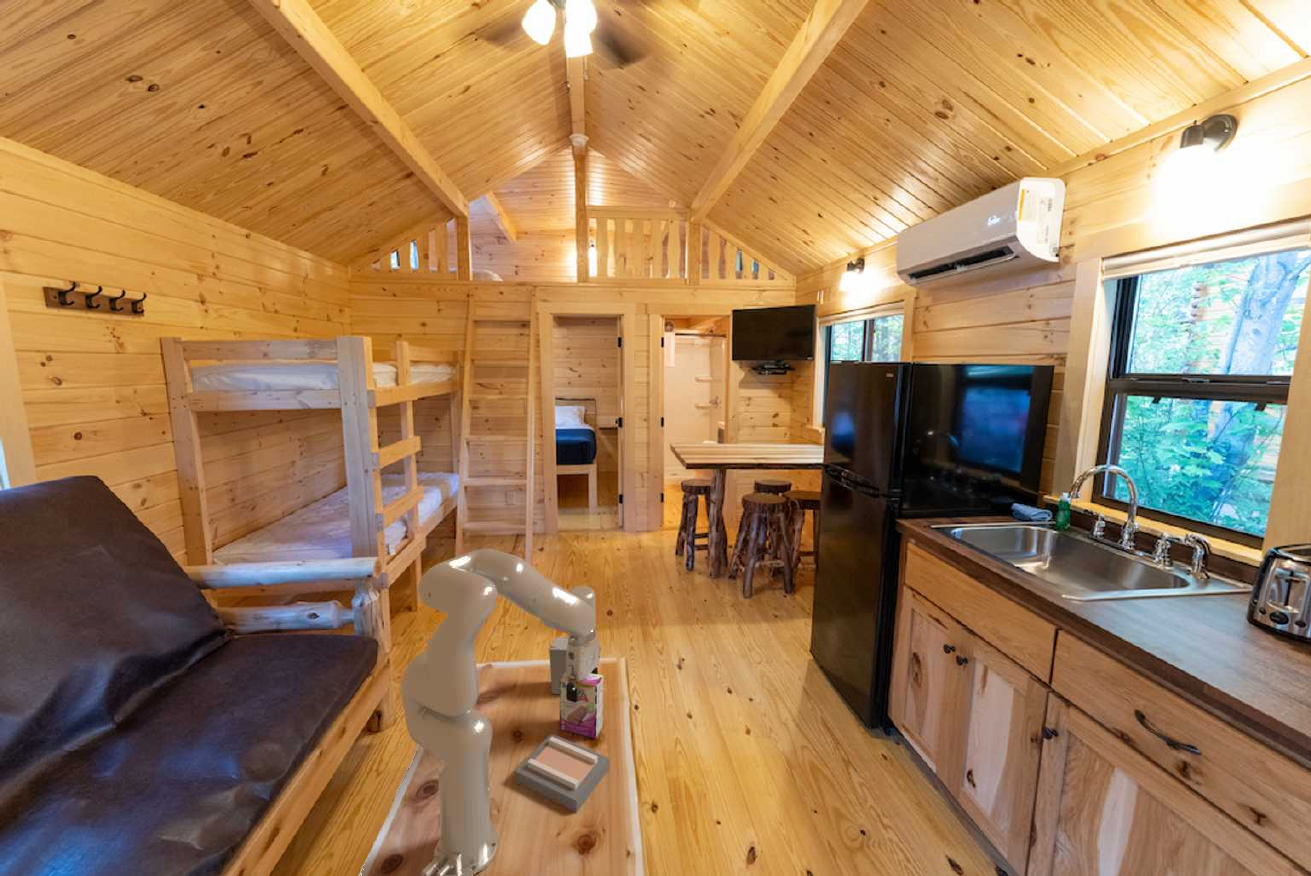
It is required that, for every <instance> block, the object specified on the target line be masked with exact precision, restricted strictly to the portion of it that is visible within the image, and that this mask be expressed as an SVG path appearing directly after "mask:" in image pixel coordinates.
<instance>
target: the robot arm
mask: <svg viewBox="0 0 1311 876" xmlns="http://www.w3.org/2000/svg"><path fill="white" fill-rule="evenodd" d="M417 594H418V597H419V599H420V600H421V602H422V603H423V604H424V605H426V606H427V607H430V608H432V609H435V610H437V611H440V612H442V613H445V614H447V616H446V617H445V618H444V619H443V621H442V622H441V623H440V624H439V626H438V627H437V628H436V629H435V631H433V633H432V634H431V636H430V638H429V640H428V642H427V645H426V651H424V652H421V653H418V655H416V656H415V657H414V658H412V659H411V661H410V662H409V663H408V664H407V666H406V668H405V670H404V673H403V675H402V679H401V683H400V693H401V694H400V695H401V701H402V706H403V712H404V716H405V723H406V727H407V732H408V735H409V736H410V738H411V740H412V741H413V742H414V743H415V744H417V745H419V746H420V747H422V748H423V749H425V750H427V751H429V752H431V753H432V754H433V755H435V756H437V757H439V758H440V759H441V760H443V763H444V764H445V766H444V767H443V768H442V770H441V772H440V774H439V778H438V799H439V802H438V803H439V805H438V806H439V820H440V823H439V825H440V838H439V840H438V841H437V843H436V846H435V848H434V851H433V859H432V860H431V861H430V862H429V863H427V865H426V866H425V867H424V868H423V869H422V870H421V872H420V876H433V875H434V874H435V876H471V875H473V874H476V873H477V872H479V871H481V870H482V871H483V870H485V868H487V867H488V866H489V865H490V863H491V862H492V861H493V859H494V857H495V855H496V854H497V851H498V848H499V833H498V831H497V828H496V827H495V825H493V823H491V819H490V818H491V817H490V816H491V815H490V814H491V813H490V810H491V809H490V783H489V781H490V776H489V774H490V773H489V759H490V751H491V746H492V741H493V733H494V731H493V726H492V723H491V721H490V719H488V717H487V716H486V715H485V714H484V713H482V712H481V711H479V710H476V709H475V706H476V704H477V702H478V701H479V694H480V693H479V692H480V684H479V682H480V681H479V676H478V674H479V673H478V667H477V661H476V650H475V642H476V638H477V637H478V634H479V632H480V630H481V629H482V627H483V626H484V624H485V622H486V621H487V619H489V616H490V615H491V614H492V612H493V611H494V609H495V607H496V604H497V600H498V595H500V596H502V598H504V599H505V600H507V601H508V602H510V603H512V604H514V605H515V606H516V607H517V608H519V609H521V610H522V611H523V612H525V613H527V614H530V615H532V616H533V617H536V618H539V620H540V622H541V624H542V625H543V626H544V627H547V628H549V629H552V630H556V631H557V632H560V633H564V634H567V638H568V644H567V652H566V672H565V674H564V676H563V677H562V679H561V683H562V684H563V687H565V688H566V699H567V700H569V701H572V702H574V703H576V702H577V688H576V686H577V683H578V681H582V680H584V679H585V678H586V677H587V676H588V675H589V674H590V673H594V674H598V672H599V671H598V667H599V664H600V658H601V651H602V646H600V643H599V636H598V633H597V624H596V623H597V621H596V618H597V610H596V608H597V604H596V602H597V601H596V592H595V590H594V588H591V587H590V586H586V585H580V586H579V585H578V586H575V587H572V588H571V589H570V590H567V589H565V588H563V587H562V586H560V585H559V584H556V583H555V582H553V581H551V580H550V579H548V578H546V577H545V576H544V575H542V573H540V572H539V571H538V570H536V569H535V568H534V567H533V566H532V565H530V564H529V563H528V562H527V561H526V560H524V559H523V558H521V557H519V556H517V555H515V554H512V553H508V552H504V551H500V550H497V549H493V548H481V549H480V548H479V549H475V550H472V551H470V552H466V553H464V554H461V555H458V556H455V557H453V558H450V559H447V560H445V561H442V562H438V563H437V564H435V565H433V566H431V567H430V568H429V569H427V570H426V571H425V572H424V573H423V575H422V576H421V578H420V580H419V583H418V586H417ZM573 673H574V676H575V677H574V676H572V674H573ZM571 678H572V679H575V680H574V683H573V685H572V684H570V681H571ZM486 866H487V867H486ZM436 870H437V871H438V872H437V871H436ZM482 871H481V872H482ZM435 872H436V873H435ZM479 873H480V872H479ZM476 875H477V874H476Z"/></svg>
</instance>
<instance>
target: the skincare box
mask: <svg viewBox="0 0 1311 876" xmlns="http://www.w3.org/2000/svg"><path fill="white" fill-rule="evenodd" d="M567 644H568V637H558V636H557V637H555V638H554V639H553V641H552V643H551V645H550V647H549V648H548V651H549V665H550V666H549V667H550V684H551V686H550V687H551V694H552V695H553V694H554V695H560V676H561V675H562V674H563V672H564V671H565V670H566V652H567Z"/></svg>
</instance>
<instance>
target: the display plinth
mask: <svg viewBox="0 0 1311 876" xmlns="http://www.w3.org/2000/svg"><path fill="white" fill-rule="evenodd" d="M609 769H610V758H609V757H607V756H605V755H603V754H600V753H598V752H596V751H593V750H591V749H589V748H586V747H584V746H582V745H580V744H577V743H575V742H572V741H570V740H568V739H566V738H563V737H561V736H559V735H557V734H554V733H553V732H552V733H550V734H549V735H548V736H547V737H546V738H545V739H544V741H542V742H541V744H539V746H538V747H537V748H536V749H534V751H532V753H531V754H530V755H528V757H527V758H525V760H524V761H523V762H522V763H521V764H520V765H519V766H518V767H517V768H516V769H515V771H514V779H515V780H514V782H515V783H517V784H519V785H521V786H523V787H525V788H527V789H528V790H530V791H532V792H534V793H537V794H539V795H541V796H543V797H545V798H547V799H549V800H550V801H553V802H554V803H556V804H558V805H561V806H563V807H564V808H567V809H568V810H571V811H572V812H575V813H578V812H579V810H580V809H581V808H582V806H583V805H584V803H585V802H586V801H587V799H588V798H589V796H590V795H591V794H592V793H593V792H594V790H595V788H596V787H597V786H598V785H599V783H600V782H601V781H602V779H603V778H604V776H605V775H606V773H607V772H608V771H609Z"/></svg>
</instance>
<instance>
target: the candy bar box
mask: <svg viewBox="0 0 1311 876" xmlns="http://www.w3.org/2000/svg"><path fill="white" fill-rule="evenodd" d="M565 672H566V670H565V671H564V672H563V674H562V675H561V676H560V694H559V731H562V732H567V733H572V734H575V735H579V736H583V737H588V738H591V739H595V740H597V738H598V736H599V734H600V732H601V730H602V728H603V713H604V712H603V708H604V707H603V705H604V703H603V701H604V675H603V674H594V673H590V674H589V675H588V676H587V677H586V678H585V679H584V680H582V681H578V683H577V686H576V688H577V702H576V703H574V702H572V701H569V700H567V699H566V688H565V687H563V684H562V683H561V679H562V677H563V676H564V674H565ZM572 676H574V673H573V674H572ZM574 677H575V676H574ZM574 680H575V679H572V678H571V681H570V684H572V685H573V683H574Z"/></svg>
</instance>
